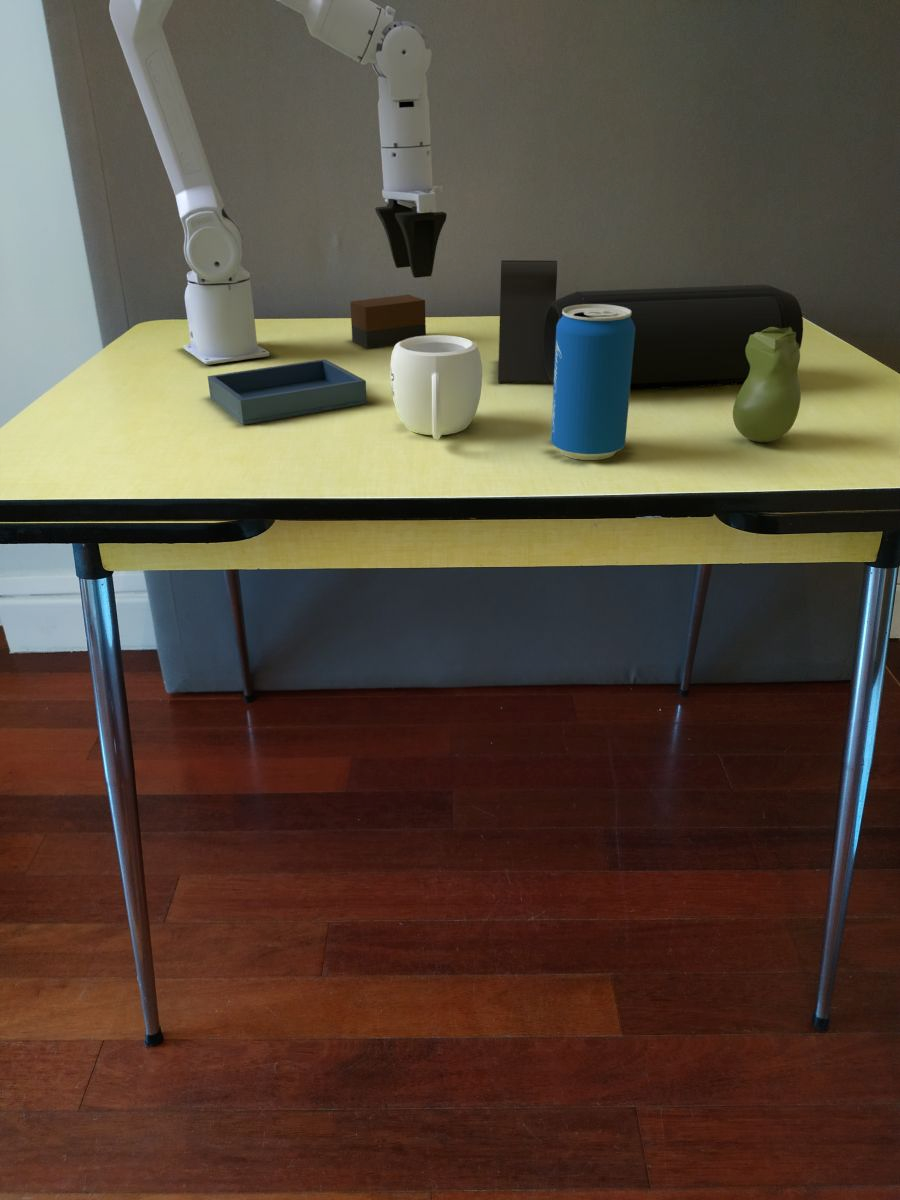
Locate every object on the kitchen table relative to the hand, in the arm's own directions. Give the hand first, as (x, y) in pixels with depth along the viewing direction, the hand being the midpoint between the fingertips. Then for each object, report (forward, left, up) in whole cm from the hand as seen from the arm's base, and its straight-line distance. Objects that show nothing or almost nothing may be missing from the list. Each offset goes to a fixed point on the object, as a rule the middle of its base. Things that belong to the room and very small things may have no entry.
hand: (413, 271), depth 110 cm
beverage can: (+42, -6, -9) cm, 43 cm away
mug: (+31, -15, -9) cm, 35 cm away
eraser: (-4, -2, -9) cm, 10 cm away
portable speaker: (+30, +14, -9) cm, 34 cm away
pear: (+48, +9, -9) cm, 50 cm away
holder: (+14, -23, -9) cm, 28 cm away
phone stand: (+18, +4, -9) cm, 21 cm away
